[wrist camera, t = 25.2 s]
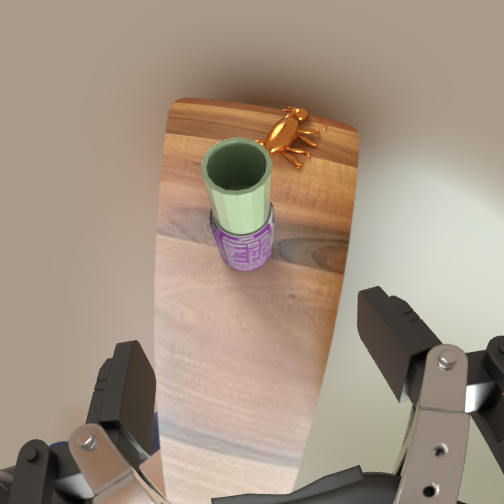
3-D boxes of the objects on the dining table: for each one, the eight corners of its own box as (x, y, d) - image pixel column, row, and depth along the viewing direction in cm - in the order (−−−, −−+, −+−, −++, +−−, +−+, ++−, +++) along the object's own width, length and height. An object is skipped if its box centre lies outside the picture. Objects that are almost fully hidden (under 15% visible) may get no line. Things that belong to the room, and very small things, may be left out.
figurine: (325, 121, 52) (265, 101, 51) (332, 109, 49) (269, 88, 48) (315, 178, 49) (248, 157, 49) (322, 168, 46) (251, 145, 45)
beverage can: (249, 214, 46) (245, 167, 35) (282, 250, 44) (290, 211, 33) (209, 245, 45) (193, 205, 33) (242, 283, 43) (236, 255, 31)
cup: (265, 237, 32) (267, 199, 24) (209, 230, 32) (194, 191, 25) (272, 187, 34) (275, 141, 26) (219, 182, 34) (209, 135, 27)
